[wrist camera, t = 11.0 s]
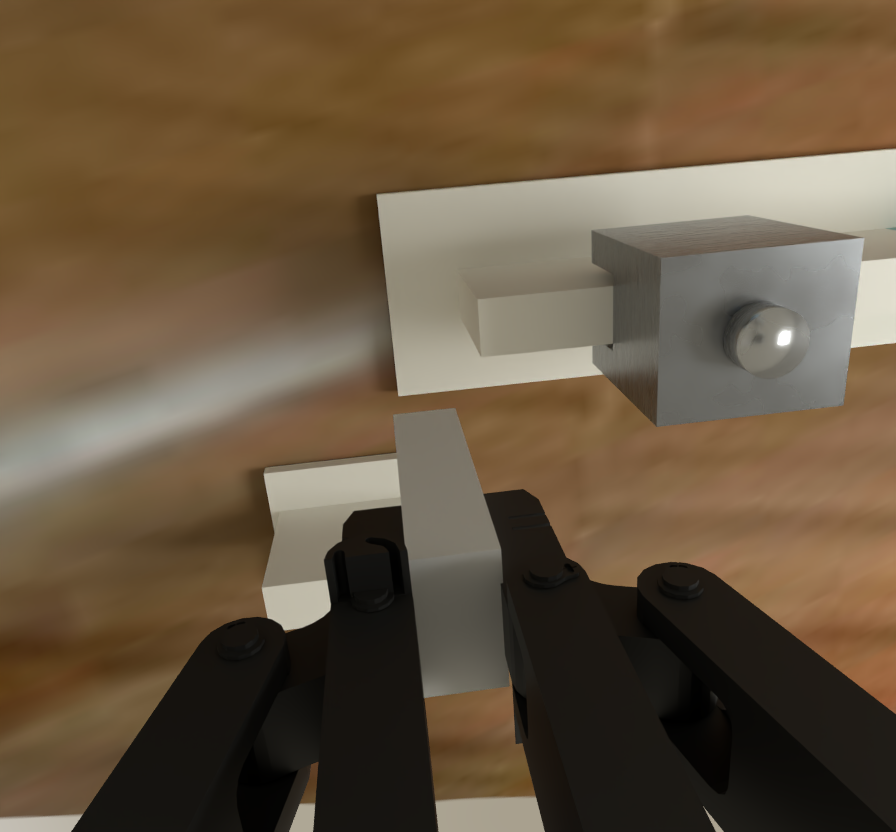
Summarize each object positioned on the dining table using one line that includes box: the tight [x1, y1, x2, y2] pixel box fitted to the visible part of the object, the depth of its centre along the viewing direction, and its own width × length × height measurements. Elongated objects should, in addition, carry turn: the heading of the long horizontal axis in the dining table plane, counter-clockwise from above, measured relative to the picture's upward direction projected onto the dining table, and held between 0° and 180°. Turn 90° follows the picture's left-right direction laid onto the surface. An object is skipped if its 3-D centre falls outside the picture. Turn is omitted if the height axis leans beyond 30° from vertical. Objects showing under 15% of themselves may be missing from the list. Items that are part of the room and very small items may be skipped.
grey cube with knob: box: [591, 215, 864, 427], centre depth 28 cm, size 6×7×9 cm
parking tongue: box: [262, 453, 401, 630], centre depth 37 cm, size 7×10×8 cm
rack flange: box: [377, 148, 896, 396], centre depth 33 cm, size 10×37×10 cm, turn 94°
